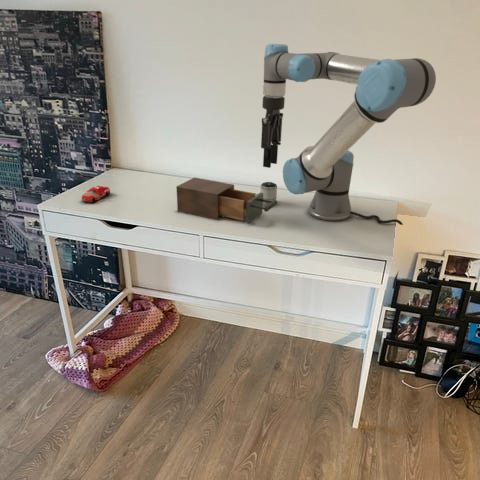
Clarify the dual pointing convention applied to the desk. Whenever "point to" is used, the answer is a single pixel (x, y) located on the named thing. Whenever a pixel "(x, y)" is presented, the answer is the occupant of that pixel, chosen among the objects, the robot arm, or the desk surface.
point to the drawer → (243, 205)
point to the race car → (96, 193)
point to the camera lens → (268, 192)
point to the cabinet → (201, 197)
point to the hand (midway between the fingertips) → (270, 164)
